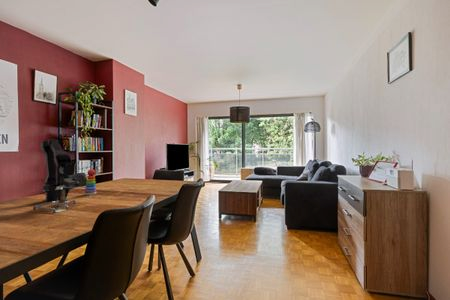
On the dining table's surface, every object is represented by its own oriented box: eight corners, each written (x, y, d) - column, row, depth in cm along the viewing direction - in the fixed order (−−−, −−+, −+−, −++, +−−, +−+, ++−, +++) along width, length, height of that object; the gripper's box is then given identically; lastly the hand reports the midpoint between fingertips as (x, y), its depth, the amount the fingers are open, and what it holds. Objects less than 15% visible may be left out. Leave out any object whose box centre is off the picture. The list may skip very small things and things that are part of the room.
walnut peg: (57, 203, 144) (57, 190, 144) (62, 202, 147) (62, 189, 147) (61, 203, 143) (61, 190, 143) (66, 202, 146) (66, 189, 146)
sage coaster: (51, 211, 130) (51, 211, 130) (60, 209, 135) (60, 208, 135) (57, 212, 128) (57, 212, 128) (67, 210, 133) (67, 209, 133)
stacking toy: (91, 195, 172) (91, 169, 172) (81, 195, 174) (81, 169, 173) (99, 193, 180) (99, 168, 180) (89, 193, 181) (89, 168, 181)
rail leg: (32, 209, 134) (32, 205, 134) (67, 202, 152) (67, 198, 152) (42, 211, 131) (42, 207, 131) (76, 203, 149) (76, 199, 149)
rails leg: (33, 209, 133) (33, 205, 133) (48, 206, 141) (48, 202, 141) (53, 213, 127) (53, 208, 127) (68, 209, 135) (68, 205, 135)
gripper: (55, 176, 133) (55, 204, 133) (85, 173, 151) (85, 197, 151) (42, 175, 137) (42, 202, 137) (73, 172, 155) (73, 196, 155)
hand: (62, 199), depth 145 cm, fingers closed on walnut peg, 3 cm apart
